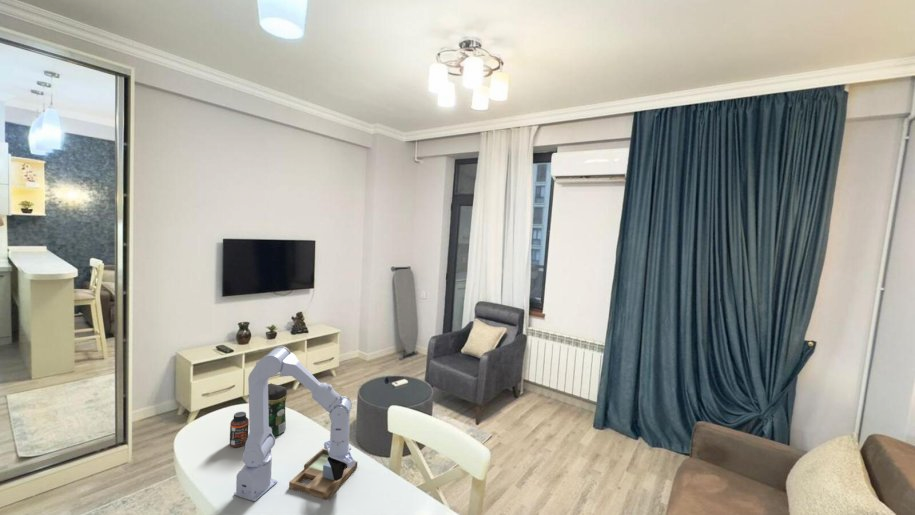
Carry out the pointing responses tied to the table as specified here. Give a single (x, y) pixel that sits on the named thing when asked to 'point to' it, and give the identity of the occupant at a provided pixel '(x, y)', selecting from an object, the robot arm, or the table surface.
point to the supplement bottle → (239, 429)
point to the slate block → (327, 471)
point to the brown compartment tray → (318, 477)
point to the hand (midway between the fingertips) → (337, 478)
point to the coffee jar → (277, 408)
